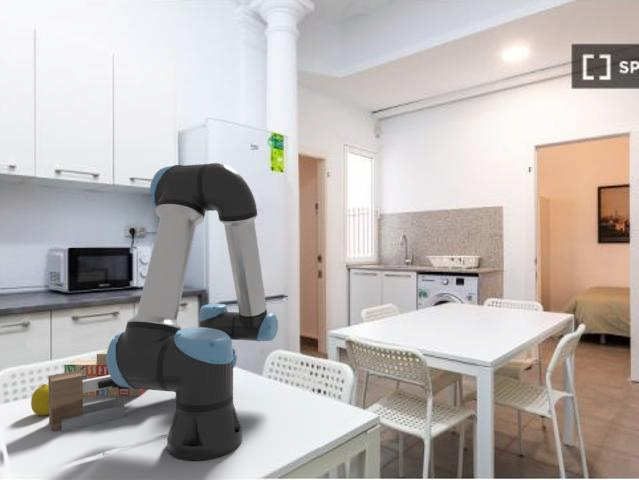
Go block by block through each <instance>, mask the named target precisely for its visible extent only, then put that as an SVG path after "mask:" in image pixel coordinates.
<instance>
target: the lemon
mask: <svg viewBox="0 0 639 480" xmlns="http://www.w3.org/2000/svg"><path fill="white" fill-rule="evenodd" d="M32 393H33V394H32V395H31V399H30V406H31V409H32V411H33V413H34V414H36V415H38V416H40V417H43V416H47V415H48V416H49V384H47V383H43V384H42V385H41V386H39V387H38V388H36V389H35V390H34V391H33V392H32Z"/></svg>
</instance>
